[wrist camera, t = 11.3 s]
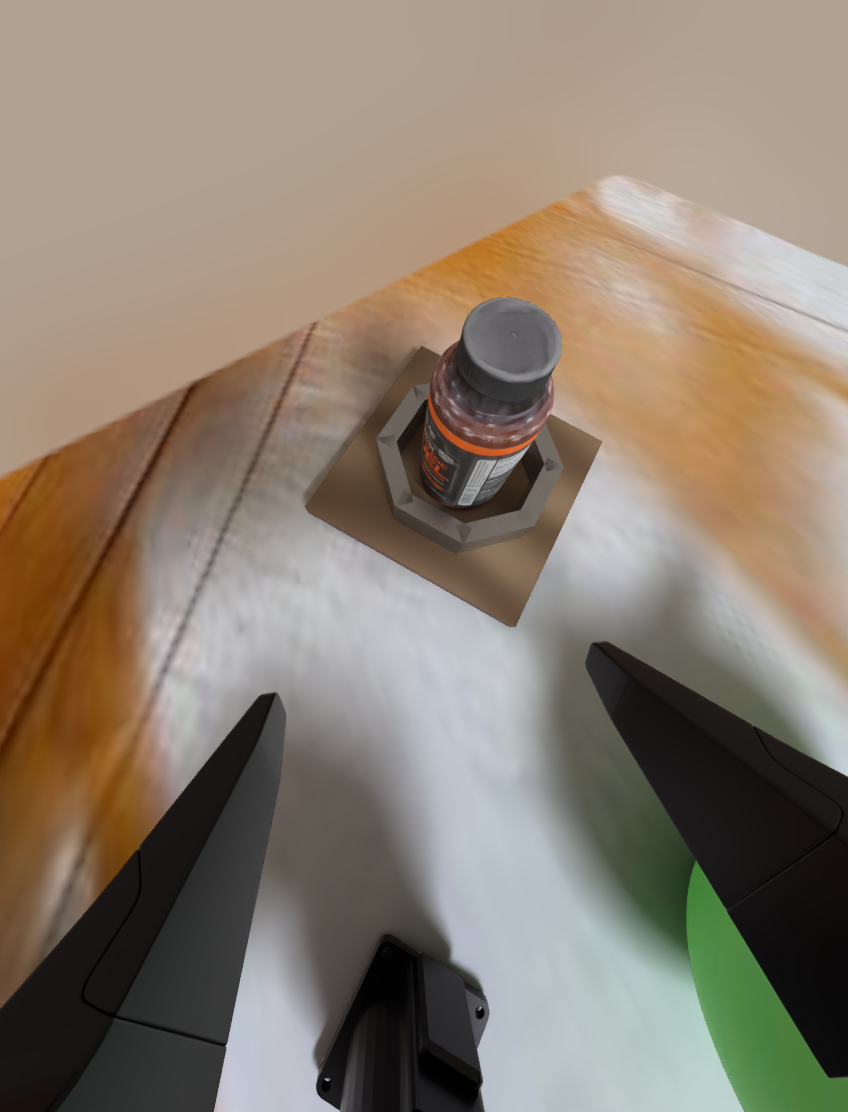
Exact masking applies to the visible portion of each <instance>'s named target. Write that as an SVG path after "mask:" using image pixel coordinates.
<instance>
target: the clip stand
mask: <svg viewBox="0 0 848 1112" xmlns="http://www.w3.org/2000/svg"><path fill="white" fill-rule="evenodd" d="M440 357H441V356H440V355H438V354H436V353H434V352H432V351H430V350H429V349H427V348H425V347H423V346H421V347H420V349H419V350H418V351H417V353H416V354H415V355H414V357H413V358H412V360H411V361H410V362H409V364H408V365H407V366H406V368H405V369H404V371H403V372H402V373H401V375H400V376H399V378H398V379H397V380H396V382H395V383H394V384H393V386H392V387H391V389H390V390H389V391H388V393H387V394H386V396H385V397H384V398H383V400H382V401H381V402H380V404H379V405H378V407H377V408H376V409H375V411H374V412H373V413H372V415H371V416H370V418H369V419H368V420H367V422H366V423H365V425H364V426H363V427H362V429H361V430H360V431H359V433H358V434H357V436H356V437H355V438H354V440H353V441H352V442H351V444H350V445H349V447H348V448H347V449H346V451H345V452H344V454H343V455H342V456H341V458H340V459H339V460H338V462H337V463H336V465H335V466H334V467H333V469H332V470H331V471H330V473H329V474H328V476H327V477H326V478H325V480H324V481H323V483H322V484H321V485H320V487H319V488H318V489H317V491H316V492H315V494H314V495H313V496H312V498H311V499H310V501H309V502H308V503H307V505H306V506H305V508H306V509H307V511H308V512H309V513H310V514H312V515H314V516H316V517H317V518H319V519H321V520H323V521H324V522H326V523H328V524H330V525H331V526H333V527H335V528H337V529H338V530H340V531H342V532H344V533H346V534H347V535H349V536H351V537H353V538H354V539H356V540H358V541H360V542H361V543H363V544H365V545H367V546H368V547H370V548H372V549H374V550H375V551H377V552H379V553H381V554H382V555H384V556H386V557H388V558H389V559H391V560H393V561H395V562H396V563H398V564H400V565H402V566H403V567H405V568H407V569H409V570H410V571H412V572H414V573H416V574H417V575H419V576H421V577H423V578H425V579H426V580H428V581H430V582H432V583H433V584H435V585H437V586H439V587H440V588H442V589H444V590H446V591H447V592H449V593H451V594H453V595H454V596H456V597H458V598H460V599H461V600H463V601H465V602H467V603H468V604H470V605H472V606H474V607H475V608H477V609H479V610H481V611H482V612H484V613H486V614H488V615H489V616H491V617H493V618H495V619H496V620H498V621H500V622H502V623H504V624H505V625H507V626H509V627H515V626H516V624H517V622H518V620H519V618H520V616H521V614H522V612H523V609H524V607H525V605H526V603H527V601H528V599H529V597H530V595H531V592H532V590H533V588H534V586H535V584H536V582H537V580H538V578H539V575H540V573H541V571H542V569H543V567H544V565H545V563H546V560H547V558H548V556H549V554H550V552H551V550H552V548H553V546H554V543H555V541H556V539H557V537H558V535H559V533H560V531H561V529H562V526H563V524H564V522H565V520H566V518H567V516H568V514H569V511H570V509H571V507H572V505H573V503H574V501H575V499H576V497H577V494H578V492H579V490H580V488H581V486H582V484H583V482H584V480H585V477H586V475H587V473H588V471H589V469H590V467H591V465H592V463H593V460H594V458H595V456H596V454H597V452H598V450H599V448H600V445H601V443H602V441H601V440H599V439H597V438H595V437H593V436H591V435H589V434H587V433H585V432H584V431H582V430H580V429H578V428H576V427H574V426H572V425H570V424H568V423H567V422H565V421H563V420H561V419H559V418H557V417H555V416H553V415H551V414H550V415H549V417H548V419H547V421H546V425H547V427H548V430H549V432H550V435H551V437H552V440H553V442H554V444H555V447H556V449H557V452H558V454H559V457H560V459H561V462H562V464H563V466H564V468H563V470H562V472H561V474H560V476H559V478H558V480H557V482H556V484H555V486H554V488H553V490H552V492H551V494H550V496H549V498H548V500H547V502H546V504H545V506H544V508H543V510H542V512H541V514H540V516H539V518H538V520H537V522H536V524H535V526H534V527H533V528H532V529H530V530H529V531H528V532H527V533H526V534H524V535H523V536H522V537H521V538H517V539H513V540H509V541H505V542H501V543H497V544H494V545H490V546H486V547H482V548H478V549H474V550H470V551H466V552H462V553H458V554H454V553H453V552H451V551H449V550H447V549H445V548H444V547H442V546H440V545H438V544H437V543H435V542H433V541H431V540H429V539H428V538H426V537H424V536H422V535H421V534H419V533H417V532H415V531H413V530H412V529H410V528H408V527H406V526H405V525H403V524H401V523H399V522H397V521H395V520H394V515H393V511H392V508H391V504H390V500H389V497H388V493H387V489H386V486H385V482H384V478H383V475H382V471H381V467H380V464H379V460H378V455H377V446H376V438H377V437H378V435H379V434H380V432H381V431H382V430H383V428H384V427H385V425H386V424H387V422H388V421H389V420H390V418H391V417H392V415H393V414H394V412H395V411H396V410H397V408H398V407H399V405H400V404H401V402H402V401H403V400H404V398H405V397H406V395H407V394H408V392H409V391H410V390H411V388H412V386H417V385H422V384H428V383H430V382H431V378H432V375H433V371H434V368H435V366H436V364H437V362H438V360H439V359H440ZM424 426H425V423H422V424H421V426H420V427H419V429H418V430H417V432H416V433H415V435H414V436H413V438H412V439H411V441H410V442H409V444H408V445H407V447H406V448H405V450H404V451H403V453H402V454H401V459H402V463H403V466H404V469H405V473H406V476H407V480H408V483H409V487H410V490H411V493H412V495H414V496H416V497H418V498H420V499H421V500H423V501H425V502H427V503H429V504H430V505H432V506H434V507H436V508H438V509H439V510H441V511H443V512H445V513H447V514H448V515H450V516H452V517H454V518H456V519H457V520H459V521H461V522H463V523H469V522H474V521H478V520H482V519H486V518H490V517H494V516H498V515H502V514H506V513H510V512H514V511H515V509H516V507H517V505H518V503H519V501H520V499H521V497H522V495H523V493H524V492H525V490H526V488H527V486H528V484H529V479H528V476H527V474H526V471H525V469H524V466H523V463H522V461H521V459H520V460H519V462H518V464H517V465H516V466H515V468H514V469H513V470H512V472H511V473H510V475H509V476H508V477H507V479H506V480H505V482H504V483H503V485H502V486H501V487H500V489H499V490H498V492H497V493H496V494H495V495H494V496H493V497H492V498H491V499H490V500H489V501H488V502H486V503H485V504H483V505H481V506H479V507H476V508H473V509H466V510H463V509H453V508H450V507H446V506H444V505H443V504H441V503H439V502H438V501H436V500H435V499H434V498H433V497H432V496H431V495H430V494H429V493H428V492H427V490H426V489H425V487H424V485H423V483H422V480H421V476H420V456H421V447H422V441H423V434H424Z"/></svg>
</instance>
